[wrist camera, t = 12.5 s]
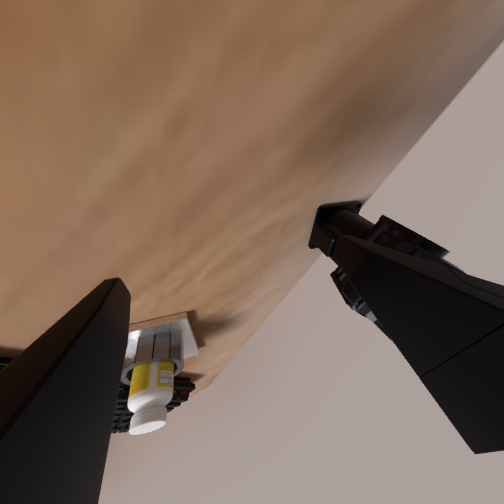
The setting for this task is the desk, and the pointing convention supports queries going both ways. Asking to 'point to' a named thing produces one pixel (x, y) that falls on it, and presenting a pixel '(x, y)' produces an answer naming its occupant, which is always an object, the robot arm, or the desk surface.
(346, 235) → the robot arm
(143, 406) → the supplement bottle
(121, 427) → the keyboard
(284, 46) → the desk surface
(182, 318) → the cup bracket
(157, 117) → the desk surface
